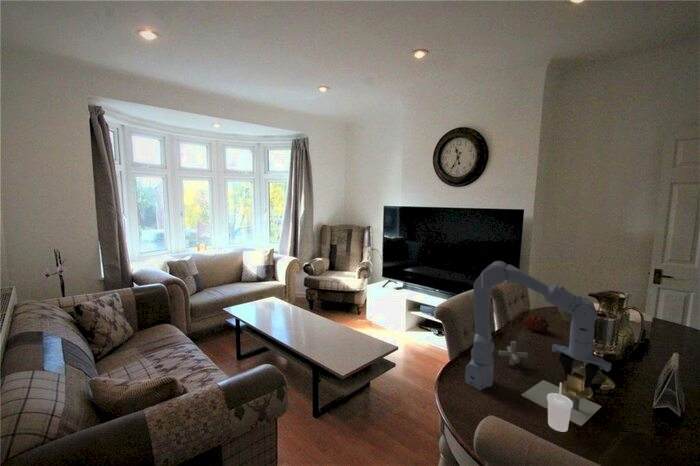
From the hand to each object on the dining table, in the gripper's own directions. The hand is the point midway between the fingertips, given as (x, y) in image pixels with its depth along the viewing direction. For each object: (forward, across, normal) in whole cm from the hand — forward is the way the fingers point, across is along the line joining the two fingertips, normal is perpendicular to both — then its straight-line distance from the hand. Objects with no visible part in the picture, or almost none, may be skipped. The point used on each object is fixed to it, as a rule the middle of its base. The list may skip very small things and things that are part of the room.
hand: (577, 382), depth 95 cm
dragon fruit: (+10, +37, -51) cm, 64 cm away
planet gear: (+3, 0, 0) cm, 3 cm away
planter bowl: (+10, +31, -80) cm, 87 cm away
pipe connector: (+10, +25, -10) cm, 28 cm away
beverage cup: (+10, 0, +12) cm, 16 cm away
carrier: (+10, +4, 0) cm, 11 cm away
